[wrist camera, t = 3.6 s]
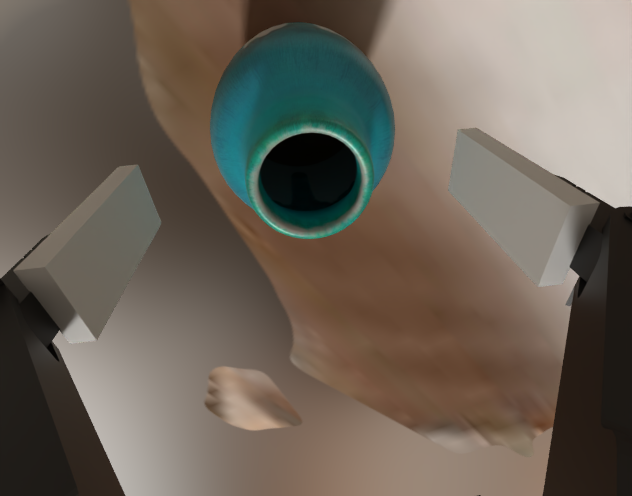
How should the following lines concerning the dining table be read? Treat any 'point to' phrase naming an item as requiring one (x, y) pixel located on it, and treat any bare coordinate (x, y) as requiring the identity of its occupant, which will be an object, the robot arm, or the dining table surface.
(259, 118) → the vase
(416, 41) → the dining table surface
